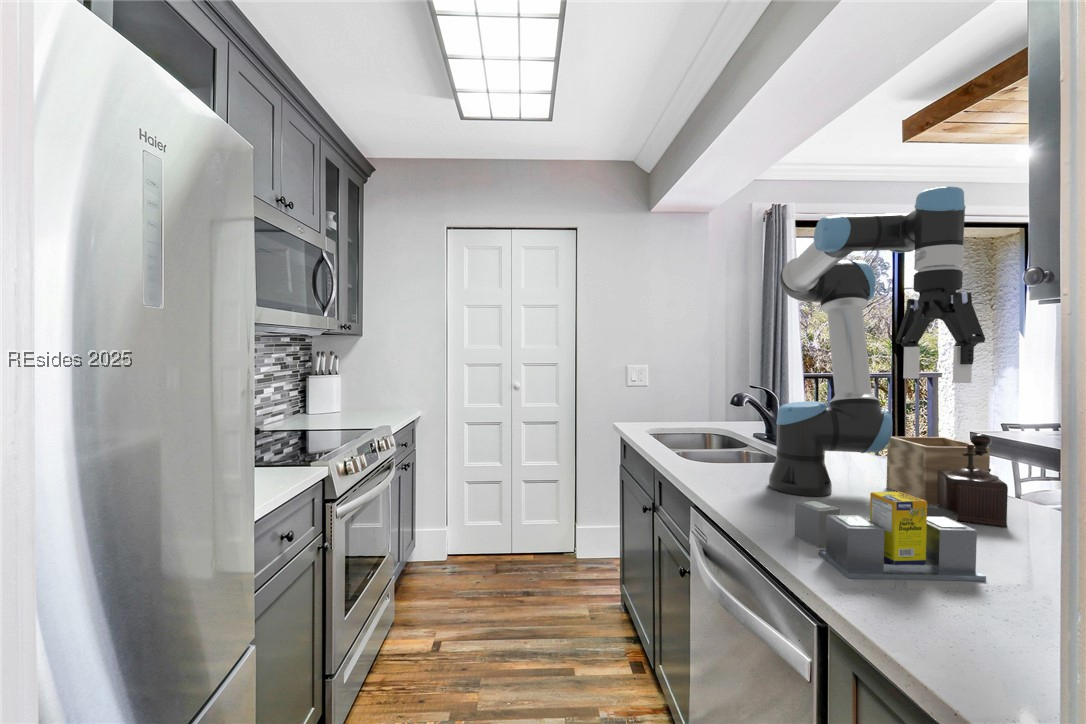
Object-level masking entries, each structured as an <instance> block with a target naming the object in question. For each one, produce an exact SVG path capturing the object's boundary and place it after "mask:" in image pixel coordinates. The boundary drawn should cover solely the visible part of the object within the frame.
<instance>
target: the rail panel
mask: <svg viewBox="0 0 1086 724" xmlns="http://www.w3.org/2000/svg"><path fill="white" fill-rule="evenodd" d="M884 531H885V529H884V528H882V527H880V526H878V525H877V524H875V523H873V522H871V521H870V519H868V518H866V517H864V516H862V515H855V514H840V515H826V547H825V549H818V555H819V556H820V557H822V559H824V560H825V561H826V562H828V563H829V564H830V565H831V566H833V567H834V568H835V569H836V570H837V571H839V572H840V573H841V574H843V576H845V577H846V578H847V579H857V580H858V579H865V580H866V579H867V580H868V579H869V580H870V579H871V580H909V581H910V580H913V581H914V580H915V581H918V580H920V581H923V580H924V581H926V580H927V581H961V582H962V581H964V582H965V581H966V582H973V581H975V582H987V576H986V575H985V574H983V573H981V572H979V571H978V570H977V566H976V565H977V544H978V542H977V540H978V539H977V537H978V536H977V535H978V531H977V529H976V528H972V527H970V526H968V525H966V524H963V523H962V522H956V521H954V520H952V519H950V518H947V517H934V516H927V528H926V564H918V565H893V564H891V563H889V562H888V561H886V560H884Z"/></svg>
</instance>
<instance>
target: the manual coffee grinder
mask: <svg viewBox="0 0 1086 724" xmlns="http://www.w3.org/2000/svg"><path fill="white" fill-rule="evenodd" d="M969 440H970V443H971V444H969V445H968V446H967V449H968V450H967V452H965V453H962V455H963V456H968V466H967V467H962V468H959V469H956V470H954V471H940V470H938V481H937V497H938V504H937V508H941V509H947V510H951V511H955V512H957V515H958V519H957V522H959V523H962V522H963V523H964V524H970V525H971V524H972V525H980V526H986V527H987V526H989V527H997V528H1005V529H1006V528H1008V523H1007V522H1008V495H1009V494H1008V493H1009V487H1008V483H1006V482H1004V481H1003V480H1001V479H1000V477H999V476H997V475H995V474H991V473H990V472H991V470H992V469H991V468H989V470H988V471H984V470H982V469H979V468H977V467H974V464H973V456H976V455H979V456H982V455H984V454H989V452H988V450H987V447H988V448H989V446H990V445H991V444H992V438H991V437H990V436H988V435H987V434H983V433H975V434H973V435H971V437H970V439H969ZM972 444H974V445H972ZM974 446H975V449H974ZM963 523H962V524H963Z"/></svg>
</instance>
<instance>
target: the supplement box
mask: <svg viewBox="0 0 1086 724" xmlns="http://www.w3.org/2000/svg"><path fill="white" fill-rule="evenodd" d="M869 493H870V497H869V498H870V500H869V501H870V502H869V503H870V506H869V510H870V512H869V521H871V522H873V523H875V524H877V525H878V526H880V527H882V528H884V529H885V531H884V560H886V561H888V562H889V563H891V564H893V565H918V564H926V528H927V507H928V504H927V501H925V500H922V499H919V498H917V497H914V496H911V495H908V494H905V493H903V492H896V491H871V492H869Z"/></svg>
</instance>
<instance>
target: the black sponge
mask: <svg viewBox="0 0 1086 724" xmlns="http://www.w3.org/2000/svg"><path fill="white" fill-rule="evenodd" d="M927 516H934V517H947V518H950V519H952V520H954V521H956V522H957V519H958V515H957V512H955V511H951V510H947V509H941V508H938V507H929V506H927Z"/></svg>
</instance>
